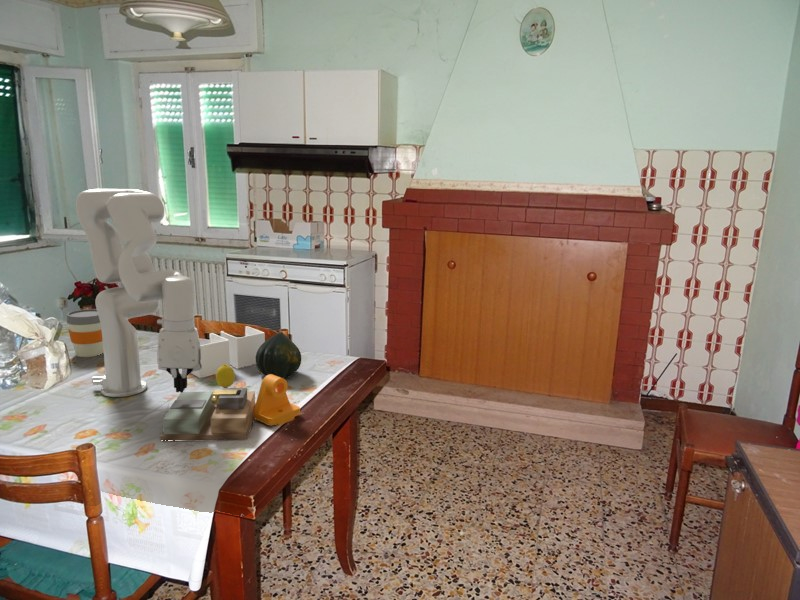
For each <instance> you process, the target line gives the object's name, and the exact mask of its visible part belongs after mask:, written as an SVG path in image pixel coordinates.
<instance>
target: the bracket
mask: <svg viewBox="0 0 800 600" xmlns="http://www.w3.org/2000/svg"><path fill="white" fill-rule="evenodd" d="M287 390H288V381H287V380H286V379H285V378H281V377H278V376H275V375H273V374H269V375H267V376H266V375H265V376H264V377H263V379H262V380H261V383H260V387H259V391H258V395H257V399H256V400H255V403H256V405H255V408H254V420H257V421H259V422H261V423H263V424H265V425H267V426H275V425H276V426H278V427H279V426H281V425H284V424H286V423H289V422H291V421H294V420H295V417H298V416H300V415H301V407H300V406H299V405H296V404H294V403H291V402H290V401H289V397H288V395H287Z"/></svg>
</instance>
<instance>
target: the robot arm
mask: <svg viewBox="0 0 800 600" xmlns="http://www.w3.org/2000/svg"><path fill="white" fill-rule="evenodd" d="M75 213H76V215H77V218H78V222H79V224H80V226H81V227H82V230H83V231H84V233H85V235H86V237H87V242H88V246H89V252H90V255H91V262H92V265H93V270H94V273H95V277H96V279H97V280H98V281H99V282H101V283H102V284H117V283H121V284H122V286H116V287H112V288H106V289H104V290H102V291H100V292H99V293H98V294H97V295H96V296H95V297H96V298H95V303H94V304H95V309H97V312H98V316H99V320H100V324H101V331H102V341H103V352H104V353H103V361H104V363H103V364H104V373H105V374H104V375H102V376H100V375H99V376H97V375H94V376H92V377H91V382H92V385H94V386H98V385H101V387H100V393H101V394H102V395H103V396H105V397H111V398H122V397H129V396H135V395H137V394H140V393H142V392H144V391H145V390H147V388H148V384H147V382H146V381H145V380H143V379H141V378H142V377H141V363H140V347H139V334H138V331H137V329H136V328H135V327H134V325H132V324H131V322H129V319H134V318H138V317H144V316H149V315H154V314H155V313H157V312H158V311H159V309H160V306H161V301H162V318H158V319H156V324H157V325H160V326H161V327H162V328H160V329H159V332H158V333H159V334H158V340H157V353H156V354H157V357H156V362H157V363H156V364H157V368H158V370H161V371H165V372H167V373H168V374H170V375H171V377H172V379H173V388H174V389H175V392H176V393H181V392H185V389H187V387H188V376H189V375H190V374H191V372H192V371H198V370H200V369H201V368H202V366H201V362H200V361H201V348H200V345H201V342H200V335H199V330H198V328H197V327H196V326H195V292H194V290H195V286H194V281H193V279H192V278H191V277H189V276H186V275H183V274H182V273H181V272H180V271H178V270H176V269H167V270H166V269H165V270H157V271H155V267H154V264H153V263H154V262H153V261H152V258H151V256H150V254H149V253H148V251H150V250H152V248H153V247H155V245H156V243H157V241H158V235H157V233H156V231H155V229H154V228H153V226H152V224H154V223H155V224H156V223H160V222H161V221H162V220H163V219H164V217H165V206H164V203H163V201H162V199H161V198H160V197H159V196H158V195H157V194H155V193H154V192H149V191H144V190H140V189H135V188H134V189H133V188H93V189H88V190H83V191H81V192H80V193H78V195H77V196H76V200H75ZM108 219H109V220H111V221H112V223H113V225H112V224H111V223H110V222H109V221H107V220H108ZM151 223H152V224H151ZM123 246H124V247H123ZM180 369H182V370H181V372H180Z"/></svg>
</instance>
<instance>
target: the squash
mask: <svg viewBox="0 0 800 600" xmlns="http://www.w3.org/2000/svg"><path fill="white" fill-rule="evenodd" d="M301 364H302V354H301V351H300V349H299V347H298V346H297V345H296V344H295V343H294V342H293V341H292V340H291V338H289V337H288V336H287V334H285V333H284V332H282V331H281V332H277V333H275V334H273V335H272V336H270V337H269V338H268V339H265V342H264V343H263V344H262V345H261V346H260V347H259V349H258V351H257V353H256V364H255V365H256V368H257V369H258V371H259V372H260V374H262V375H263V376H265V377H266V376H267V375H269V374H273V375H275V376H278V377H281V378H283V379H285V378H290V377H292V376H293V375H295V373H296V372H297V371H298V370H299V369H300V367H301Z"/></svg>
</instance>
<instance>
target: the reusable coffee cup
mask: <svg viewBox="0 0 800 600" xmlns="http://www.w3.org/2000/svg"><path fill="white" fill-rule="evenodd" d="M66 323H67V324H68V335H69V337H70V341H71V343H72V344H73V348H74V354H75V356H76V357H79V358H91V357H97V355H98V356H100V354H101V355H103V354H104V352H103V341H102V331H101V324H100V320H99V316H98V312H97V309H96V308H87V309H86V308H85V309H77V310H73V311H72V310H71V311H70V312H68V313H66ZM102 353H103V354H102Z"/></svg>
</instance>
